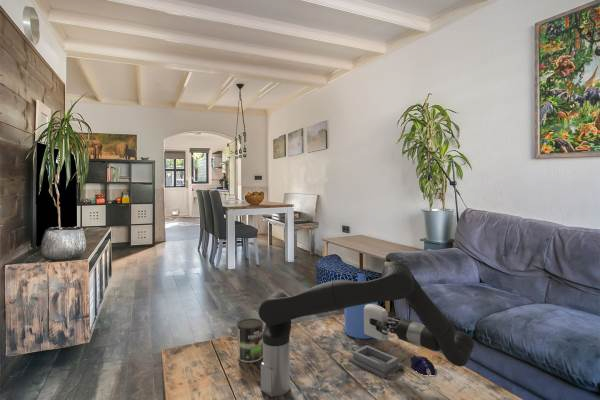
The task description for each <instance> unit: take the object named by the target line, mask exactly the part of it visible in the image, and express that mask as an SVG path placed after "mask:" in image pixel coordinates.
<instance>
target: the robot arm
mask: <svg viewBox="0 0 600 400" xmlns="http://www.w3.org/2000/svg"><path fill="white" fill-rule="evenodd" d="M381 271H382V272H381V277H379V278H375V279H371V280H365V282H358V280H357V281H356V280H351V279H342V278H341V279H335V280H331V281H327V282H323V283H320V284H317V285H314V286H312V287H310V288H308V289H306V290H303V291H302V292H299V293H297V294H293V295H290V296H289V295H287V294H286V293H284V292H282V291H275V292H272V293H270V295H268V296H267V297H266V298H265V299H264V300H263V301H262V302H261V303H260V305H259V307H258V316H259V318H260V319H259V320H261V321H262V322H263V324H265V326H264V329H263V331H262V338H263V357H262V362H261V363H260V390H261V391H262V392H263V393H264V394H266V395H267V396H269V397H270V398H274V397H281V396H284V395H286V394H288V392H289V391H290V389H291V387H290V386H291V385H290V384H291V382H290V381H291V377H290V376H291V375H290V363H291V362H290V360H291V359H290V358H291V357H290V350H291V349H290V335H291V329H292V320H296V319H298V318H302V317H308V316H313V315H319V314H324V313H328V312H329V313H330V312H335V311H338V310H345V308H348V307H352V306H358V305H363V304H367V303H373V302H378V303H380V302H389V301H390V302H391V301H399V300H403V299H405V300H406V301H407V302H408V303H409V305H410V306H411V307H412V310H413V311H414V313H415V314H416V316H417V317H418V319H419V320H420V322H421V323H420V322H417V321H413V320H410V319H407V318H404V317H399V316H398V317H397V316H393V315H391V316H388V321H384V322H382V321H378V320H375V319H372V318H371V319H370V324H371V325H374V326H376V330H377V331H379V332H380V333H382V334H384V335H387V333H388V334H389V333H391V334H394V335H396V337H397V338H398V340H400V341H404V342H405V343H409V344H411V345H415V346H416V347H422V348H425V349H427V350H430V351H433V352H440V351H441V352H442V355H443V356H444V357H445V358H446V360H447V361H448V362H449V363H450V364H452V365H454V366H456V367H464V366H466V365H467V364H468V362H469V360H470V357H471V354H472V353H473V351H474V347H475V340H474V339H473V337H472V336H471V335H470V334H468V333H467V332H464V331H462V330H456V327H455V325H454V324H453V323H452V322H451V321H450V320H449V318H448V317H447V316H446V315H445V314H444V313H443V312H442V311H441V310H440V309H439V307H438V306H437V305H436V304H435V303H434V302H433V300H432V299H431V298H430V297H429V296H428V294H427V293H426V292H425V291H424V289H423V288H422V287H421V285H420V284H419V282H418V280H417V279H416V278H415V276H414V274H413V273H412V271H411V269H410V267H409V266H408V265H407V264H405V263H404V262H402V261H399V260H391V261H389V262H387V263H385V265H384V266H383V267H382V270H381ZM381 324H383V325H381ZM386 324H387V327H386Z"/></svg>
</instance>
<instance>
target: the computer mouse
mask: <svg viewBox="0 0 600 400" xmlns="http://www.w3.org/2000/svg"><path fill="white" fill-rule="evenodd" d="M411 362H412V363H411ZM410 363H411V364H410V369H411V368H412V369H413V370H414V371H417V372H418V373H417V374H419V373H420V374H419V375H421V374H423V375H428V376H429V375H435V371H436V368H435V366H434V363H432V362H431V360H429V358H427V356H422V355H415V354H414V355H412V356H411V357H410ZM412 369H411V370H412ZM413 370H412V371H413ZM423 375H422V376H423Z"/></svg>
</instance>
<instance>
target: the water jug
mask: <svg viewBox="0 0 600 400" xmlns="http://www.w3.org/2000/svg"><path fill="white" fill-rule="evenodd" d="M365 276H366V274H365V273H358V274H357V281H358V282H365V281H366V280H365V278H366V277H365ZM368 304H374V305H378V304H379V302H373V303H367V304H363V305H358V306H352V307H348V308H344V329H343V330H344V332H345V334H346V336H349V337H351V338H354V339H360V340H368V339H372V338H373V337H371V336H369V335H366V334H365V333H364V307H365V306H366V305H368ZM378 306H379V305H378Z"/></svg>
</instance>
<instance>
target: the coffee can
mask: <svg viewBox="0 0 600 400" xmlns="http://www.w3.org/2000/svg"><path fill="white" fill-rule="evenodd" d="M263 324H264V322H263V321H262V320H261V319H258V318H245V319H242V320H241V319H240V321H238V322H237V324H236V327H237V359H238V361H240V362H242V363H246V364H250V363H251V364H252V363H256V362H258V361H260V360H263Z"/></svg>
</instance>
